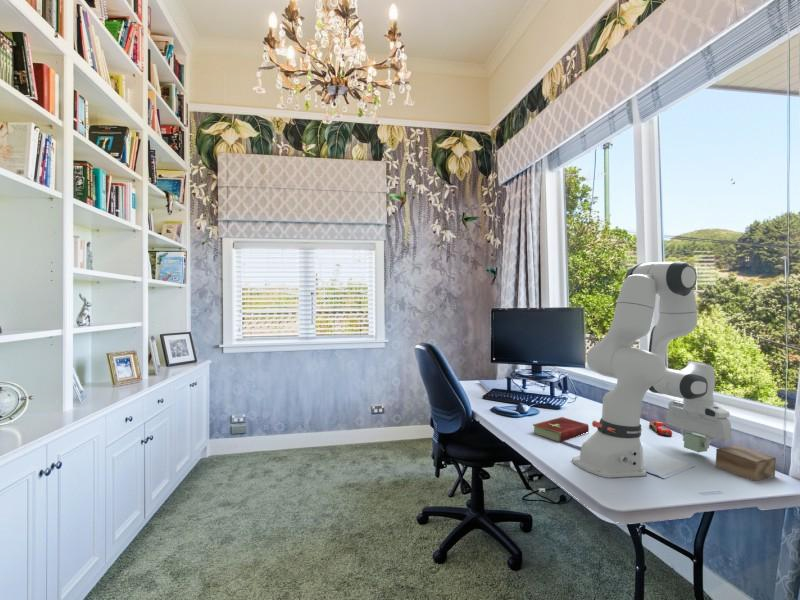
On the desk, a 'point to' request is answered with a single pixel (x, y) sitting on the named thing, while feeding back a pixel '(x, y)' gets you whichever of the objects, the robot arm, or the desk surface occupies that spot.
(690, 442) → the cube
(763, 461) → the block
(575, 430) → the hardcover book
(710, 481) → the desk surface
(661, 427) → the race car
